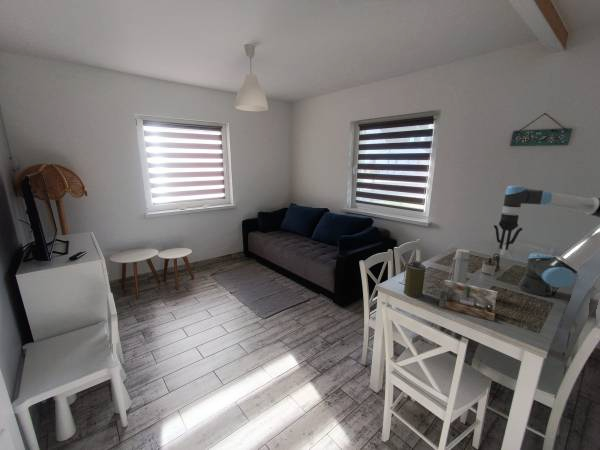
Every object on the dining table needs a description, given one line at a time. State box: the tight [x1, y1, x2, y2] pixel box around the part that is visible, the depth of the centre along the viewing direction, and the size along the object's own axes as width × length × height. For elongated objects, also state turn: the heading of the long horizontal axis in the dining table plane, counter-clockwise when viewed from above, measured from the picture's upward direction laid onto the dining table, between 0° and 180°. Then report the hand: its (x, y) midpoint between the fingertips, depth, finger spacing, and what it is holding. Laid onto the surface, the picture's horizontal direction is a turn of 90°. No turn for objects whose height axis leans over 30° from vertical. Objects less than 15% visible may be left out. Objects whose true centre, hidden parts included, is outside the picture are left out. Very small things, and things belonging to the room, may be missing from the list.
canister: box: [403, 259, 427, 299], centre depth 153 cm, size 11×10×20 cm
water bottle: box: [448, 248, 470, 284], centre depth 158 cm, size 9×8×25 cm
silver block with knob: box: [460, 288, 493, 312], centre depth 136 cm, size 14×6×9 cm, turn 55°
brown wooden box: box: [438, 279, 498, 322], centre depth 138 cm, size 24×10×12 cm, turn 55°
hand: (502, 254), depth 151 cm, fingers closed
